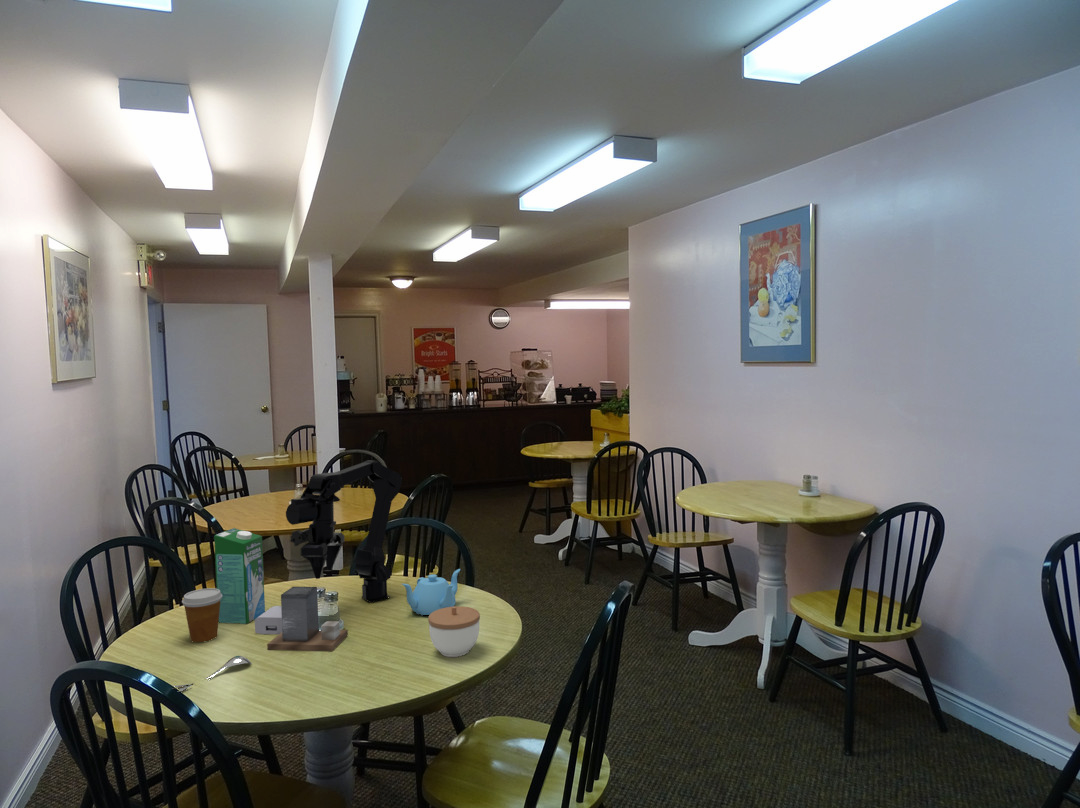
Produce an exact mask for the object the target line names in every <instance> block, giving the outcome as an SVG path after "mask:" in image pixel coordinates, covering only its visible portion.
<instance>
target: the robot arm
mask: <svg viewBox="0 0 1080 808" xmlns="http://www.w3.org/2000/svg"><path fill="white" fill-rule="evenodd" d="M364 478H368V480H370V481H371V482H372V483H373V484H372V485H373V486H372V491H373V493H374V496H375V502H374V506H373V511H372V515H371V520H370V525H369V529H368V534H367V539H366V543H365V545H364V546H363V547H362V548H361V549H357V551H356V557H355V560H354V562H353V563H354V567H355V570H356V572H357V573H358V574H357V575H358V577H359V578H360V579H363V584H361V586H362V587H361V589H362V590H361V591H362V594H361V595H362V596H361V599H363V598H364V599H363V600H365V599H366V600H365V601H367V600H368V601H369V603H370V602H371V603H374V602H373V601H376V602H378V601H377V600H380V601H382V600H381V599H384V598H387V599H389V598H388V597H391V596H390V595H388V584H387V583H388V582H387V581H388V580H390V579H391V576H392V570H391V569H389V568H388V567H387V565H385V562H386V561H385V560H386V555H385V552H384V550H383V545H384V541H385V536H386V531H387V526H388V521H389V516H390V511H391V507H392V503H393V500H394V499H395V498H396V497H397V496H398V494H399V492H400V491H401V490H400V489H401V486H402V483H403V478H402V477H401V475H400V473H399V472H397V471H394V470H392V469H391V468H389V467H386V466H384V465H383V464H381V462H379V461H377V460H365V461H363V462H360V463H358V464H355V465H352V466H349V467H346V468H344V469H341V470H338V471H334V472H322V473H321V472H320V473H315V474H313V475H311V476H310V478H309V481H308V484H307V485H306V487H305V489H304V491H303V492H302V494H301V496H300V498H292V499H290V504H289V505H288V506H287V508H286V510H285V517H286V520H287V522H288V523H289V524H290V525H292V526H293V525H295V526H296V525H300V524H305V523H310V522H312V523H310V524H309V525H308V528H307V529H305V530H302V531H301V530H300V529H298V530H293V531H292V532H291V536H290V542H291V543H293V545H294V547H297V546H299V545H301V544H303V546H302V547H300V552H299V553H300V556H301V557H302V558H303V559H306V560H308V561H309V563H310V565H311V568H312V571H313V574H314V577H315V580H319V579H321V577H322V574H323V571H324V567H325V564H326V570H327V571H332V570H333V568H334V565H335V562H336V561H337V558H338V556H339V554H340V551H341V548H342V547H343V545H344V543H345V535H344V534H343V533H342V532H335V526H336V525H337V520H335V518H334V516H335V515H334V514H335V511H334V510H335V509H334V503H336V502H340V500H341V499H340V498H339V497H338V496H336V493H337V492H340V491H341V490H342V489H343V488H344V486H346V485H348V484H351V483H354V482H356V481H360V480H361V479H364ZM306 542H307V543H306ZM305 543H306V544H305ZM384 600H385V599H384ZM368 601H367V602H368Z"/></svg>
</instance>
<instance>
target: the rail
mask: <svg viewBox="0 0 1080 808" xmlns="http://www.w3.org/2000/svg"><path fill="white" fill-rule="evenodd" d="M340 625H341V624H340V621H336V620H335V621H334V620H327V621H325V622H324V623H323V624H321V627H320V629H321V631H319V632H318V633H317V634H316V635H315V636H314V637H313V638H311V639H310V640H309V641H308V642H285V641H283V637H282V632H281V633H280V634H277V635H276V636H275V637H274V638H273V639H272V640H270V641H268V643H267V644H266V645H267V646H266V647H267V651H268V650H269V651H303V652H304V651H306V652H307V651H309V652H315V651H317V652H318V651H319V652H320V651H321V652H333V651H335V649H337V647H338V646H340V644H341V643H342V642H343V641H344V640H346V638H347V637H348V636H349V631H348V629H341V628H340ZM347 635H348V636H347Z"/></svg>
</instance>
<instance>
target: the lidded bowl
mask: <svg viewBox="0 0 1080 808" xmlns="http://www.w3.org/2000/svg"><path fill="white" fill-rule="evenodd" d="M427 617H428V618H427V619H428V620H427V621H428V629H429V637H430V640H431V642H432V645H433V646H434V648H435V649H436V651H439V652H440V654H441V656H444V657H446V658H459V657H462V655H463V656H465V655H464V654H466V653H467V654H469V653H470V651H469V650H471V649H472V648H473V647H474V646H475V644H476V643H477V640H478V637H479V633H480V619H481V614H480V612H479V610H477V609H475V608H473V607H468V606H459V605H458V606H456V605H454V607H446V608H442V609H438V610H436V611H434V612H432V613H431V614H430V615H429V616H427ZM467 654H466V655H467ZM458 656H459V657H458Z"/></svg>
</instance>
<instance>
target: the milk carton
mask: <svg viewBox="0 0 1080 808" xmlns="http://www.w3.org/2000/svg"><path fill="white" fill-rule="evenodd" d="M213 540H214V541H213V542H214V559H215V560H214V561H215V562H214V564H215V585H216V586H215V587H216V588H215V589H219V590H220V592H221V594H222V598H221V601H220V612H219V622H220V623H219V624H236V623H240V624H241V625H248V624H249V623H251V622H253V621H255V619H256V618H257V617H259V616H260V615H261V614H263V613H264V612H266V604H265V602H266V601H265V577H264V576H265V575H264V556H263V555H264V553H263V550H264V549H263V536H262V535H260V534H255V533H254V532H253V533H252V532H251V531H247V530H242V529H239V528H235V527H232V528H229V529H227V530H225V531H222V532H220V533H218V534H217V533H216V534H215V535H214V536H213ZM252 620H253V621H252ZM247 623H248V624H247Z"/></svg>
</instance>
